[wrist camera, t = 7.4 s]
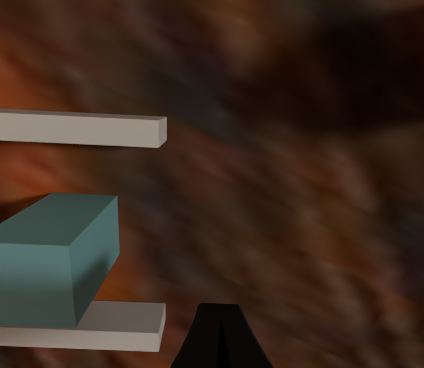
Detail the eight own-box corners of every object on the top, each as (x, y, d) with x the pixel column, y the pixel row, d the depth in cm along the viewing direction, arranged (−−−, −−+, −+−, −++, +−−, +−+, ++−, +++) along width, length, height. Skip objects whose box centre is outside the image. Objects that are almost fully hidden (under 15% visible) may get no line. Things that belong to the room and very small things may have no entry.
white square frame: (165, 319, 19) (158, 351, 17) (-36, 311, 19) (-72, 342, 17) (166, 116, 16) (158, 120, 13) (-78, 105, 16) (-130, 106, 13)
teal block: (119, 254, 18) (75, 328, 12) (57, 251, 18) (-16, 324, 12) (117, 195, 17) (68, 246, 11) (51, 192, 17) (-31, 241, 11)
